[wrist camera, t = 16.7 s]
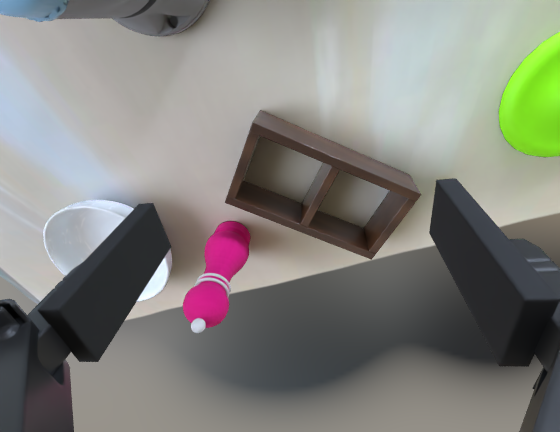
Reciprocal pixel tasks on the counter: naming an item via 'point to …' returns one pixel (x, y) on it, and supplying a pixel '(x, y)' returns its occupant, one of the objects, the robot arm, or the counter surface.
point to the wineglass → (534, 102)
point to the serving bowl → (92, 238)
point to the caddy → (323, 189)
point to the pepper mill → (217, 276)
